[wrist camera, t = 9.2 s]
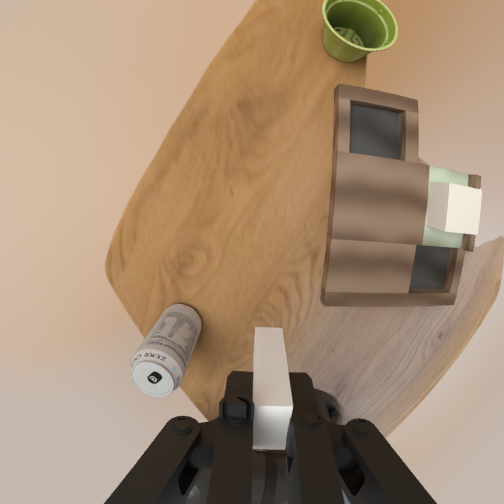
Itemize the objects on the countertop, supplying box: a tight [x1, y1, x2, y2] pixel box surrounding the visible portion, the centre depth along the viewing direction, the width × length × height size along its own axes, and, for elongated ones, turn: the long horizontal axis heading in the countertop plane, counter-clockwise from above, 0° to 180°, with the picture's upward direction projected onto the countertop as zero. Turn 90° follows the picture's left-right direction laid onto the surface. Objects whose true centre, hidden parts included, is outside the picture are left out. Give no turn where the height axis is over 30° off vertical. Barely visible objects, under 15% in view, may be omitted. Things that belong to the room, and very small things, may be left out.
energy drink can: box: [131, 304, 202, 397], centre depth 36 cm, size 6×6×15 cm
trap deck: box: [320, 84, 481, 306], centre depth 36 cm, size 29×22×4 cm
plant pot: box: [322, 0, 398, 62], centre depth 29 cm, size 9×9×9 cm
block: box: [426, 182, 482, 235], centre depth 33 cm, size 6×6×5 cm
